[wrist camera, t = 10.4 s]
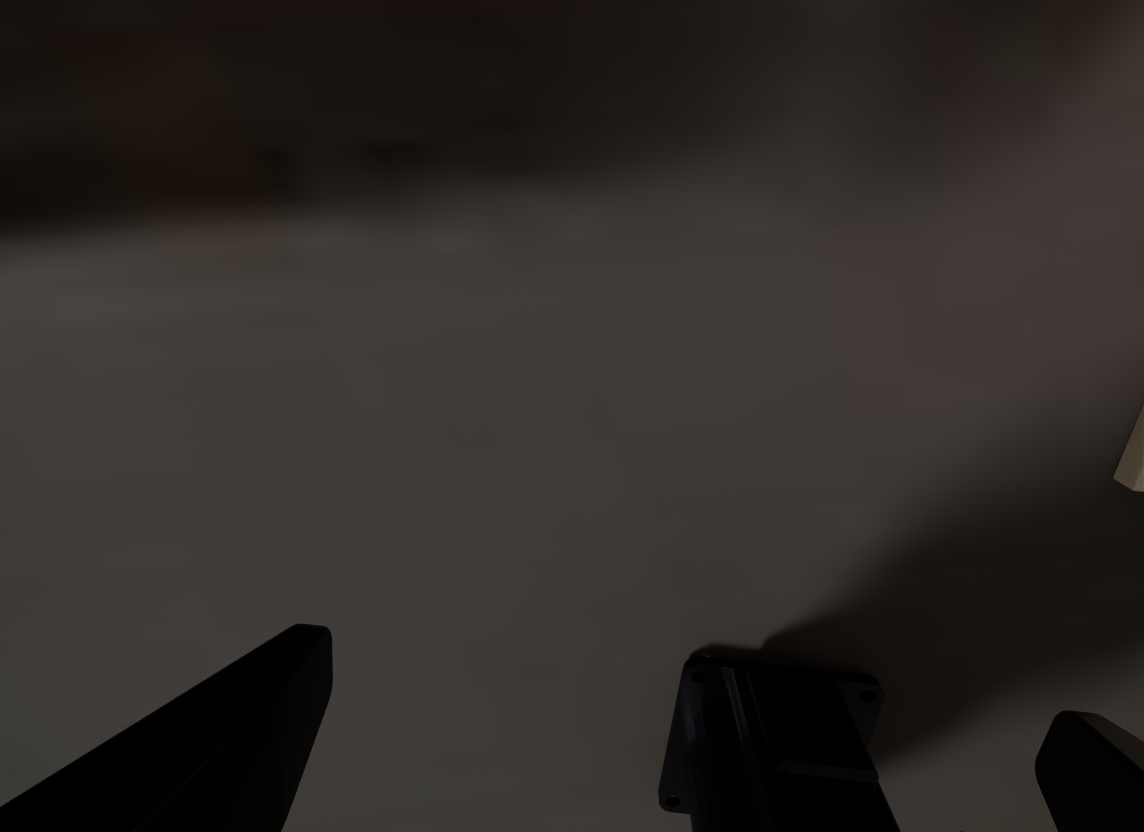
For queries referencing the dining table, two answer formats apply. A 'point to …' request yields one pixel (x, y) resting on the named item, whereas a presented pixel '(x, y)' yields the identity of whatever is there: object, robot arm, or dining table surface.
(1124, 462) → the roll holder
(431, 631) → the dining table surface
